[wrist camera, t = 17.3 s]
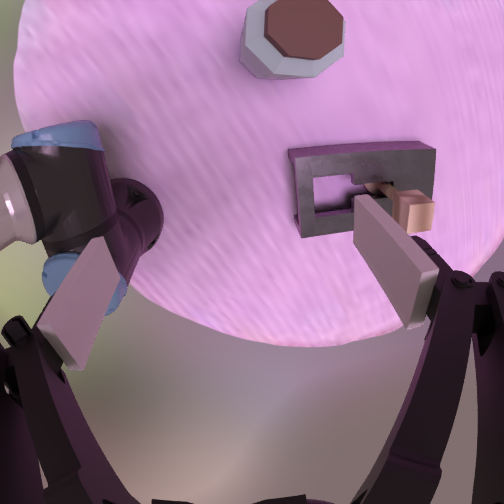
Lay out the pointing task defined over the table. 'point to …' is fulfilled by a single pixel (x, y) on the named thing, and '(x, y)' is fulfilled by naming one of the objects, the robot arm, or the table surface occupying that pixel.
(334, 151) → the keyhole plate
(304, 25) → the water bottle
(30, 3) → the table surface
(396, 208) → the peg
